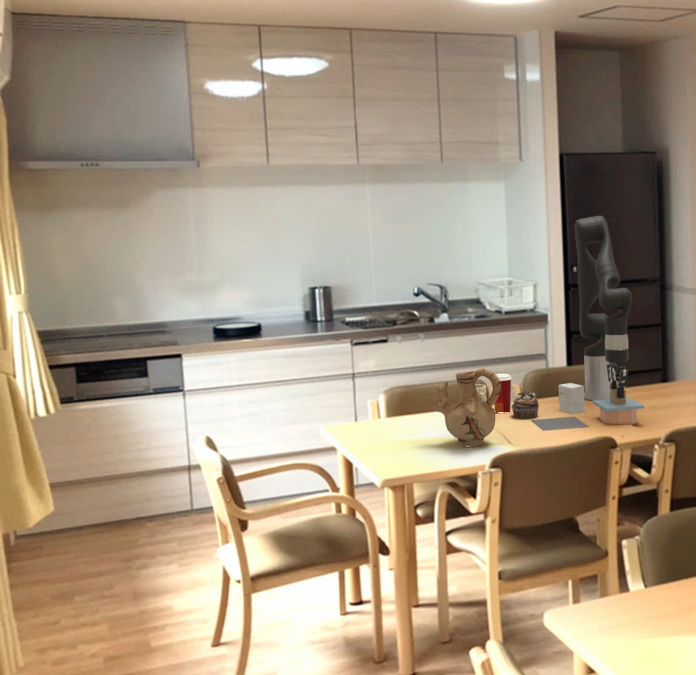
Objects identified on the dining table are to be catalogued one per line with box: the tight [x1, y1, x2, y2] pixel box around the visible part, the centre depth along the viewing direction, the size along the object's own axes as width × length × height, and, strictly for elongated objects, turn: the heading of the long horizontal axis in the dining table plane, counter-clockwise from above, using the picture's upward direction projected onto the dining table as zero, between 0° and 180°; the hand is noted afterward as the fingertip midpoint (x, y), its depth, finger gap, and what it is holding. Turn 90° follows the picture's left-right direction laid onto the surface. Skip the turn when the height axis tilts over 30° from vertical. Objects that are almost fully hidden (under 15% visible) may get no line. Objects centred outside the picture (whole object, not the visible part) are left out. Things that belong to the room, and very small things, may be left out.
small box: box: [558, 382, 586, 415], centre depth 311 cm, size 8×6×10 cm
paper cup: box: [491, 373, 513, 413], centre depth 320 cm, size 8×8×14 cm
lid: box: [592, 388, 645, 411], centre depth 292 cm, size 13×13×6 cm
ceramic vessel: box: [432, 368, 501, 448], centre depth 276 cm, size 18×19×25 cm
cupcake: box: [511, 391, 540, 420], centre depth 307 cm, size 10×10×10 cm
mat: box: [529, 416, 590, 432], centre depth 294 cm, size 16×16×1 cm
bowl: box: [599, 407, 638, 426], centre depth 293 cm, size 11×11×6 cm
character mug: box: [475, 383, 488, 402], centre depth 308 cm, size 11×7×13 cm, turn 18°
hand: (617, 396), depth 292 cm, fingers open, 4 cm apart
